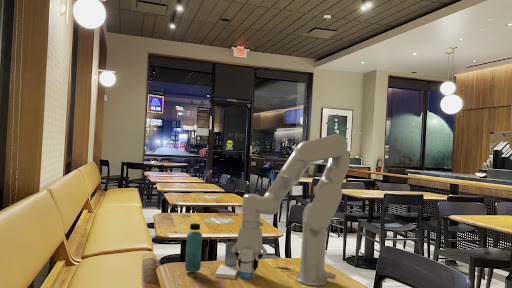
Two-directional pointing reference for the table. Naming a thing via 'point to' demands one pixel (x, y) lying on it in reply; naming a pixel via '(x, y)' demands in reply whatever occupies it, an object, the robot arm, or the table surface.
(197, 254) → the beverage bottle
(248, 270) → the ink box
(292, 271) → the table surface
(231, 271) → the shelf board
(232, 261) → the bookend
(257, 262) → the robot arm
